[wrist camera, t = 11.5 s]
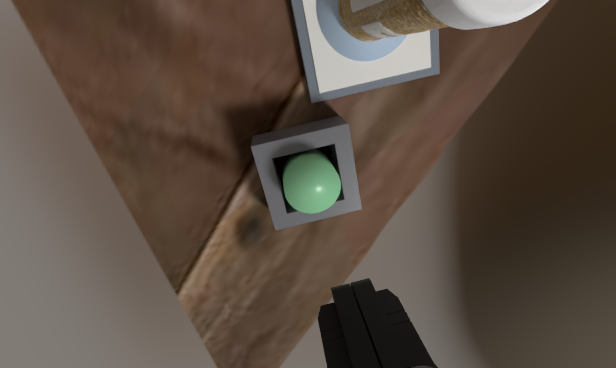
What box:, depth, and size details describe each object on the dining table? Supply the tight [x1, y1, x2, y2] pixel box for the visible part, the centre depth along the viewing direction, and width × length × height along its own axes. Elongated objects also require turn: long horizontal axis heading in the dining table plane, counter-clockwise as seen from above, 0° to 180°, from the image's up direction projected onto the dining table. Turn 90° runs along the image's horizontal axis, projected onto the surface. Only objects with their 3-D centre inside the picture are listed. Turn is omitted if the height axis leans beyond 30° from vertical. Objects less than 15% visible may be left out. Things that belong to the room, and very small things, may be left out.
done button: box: [282, 149, 341, 214], centre depth 23 cm, size 4×4×3 cm
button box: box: [251, 116, 362, 230], centre depth 24 cm, size 7×7×3 cm
